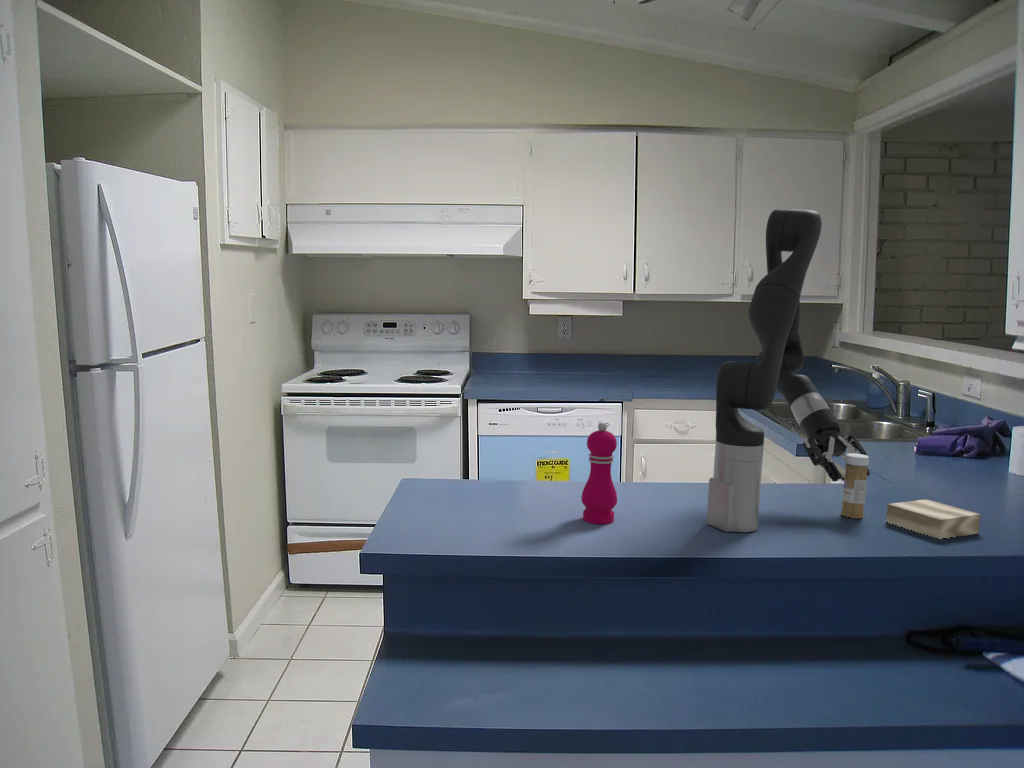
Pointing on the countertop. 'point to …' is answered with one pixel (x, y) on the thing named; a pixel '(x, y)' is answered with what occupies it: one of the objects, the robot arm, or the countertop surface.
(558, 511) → the countertop surface
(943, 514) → the wooden riser
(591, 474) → the pepper mill
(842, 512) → the sprinkles bottle
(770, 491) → the countertop surface
